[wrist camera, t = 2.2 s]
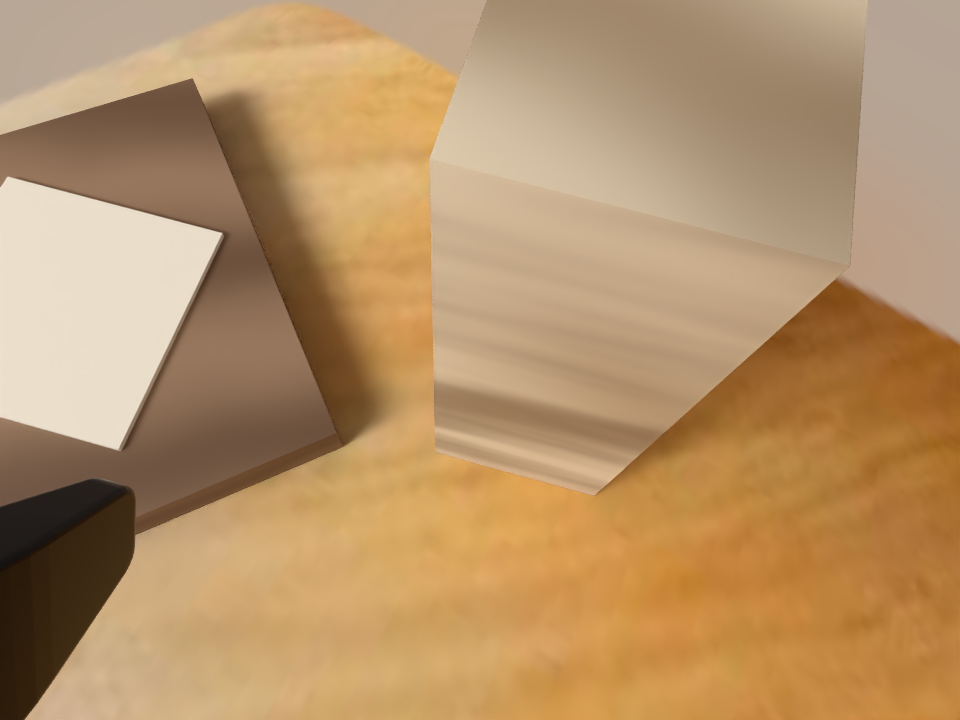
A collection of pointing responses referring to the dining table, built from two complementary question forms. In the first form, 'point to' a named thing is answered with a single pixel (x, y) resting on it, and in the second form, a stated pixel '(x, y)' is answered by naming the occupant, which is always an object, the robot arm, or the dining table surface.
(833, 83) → the birch pillar block
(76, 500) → the robot arm
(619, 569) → the dining table surface
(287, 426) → the walnut base board
